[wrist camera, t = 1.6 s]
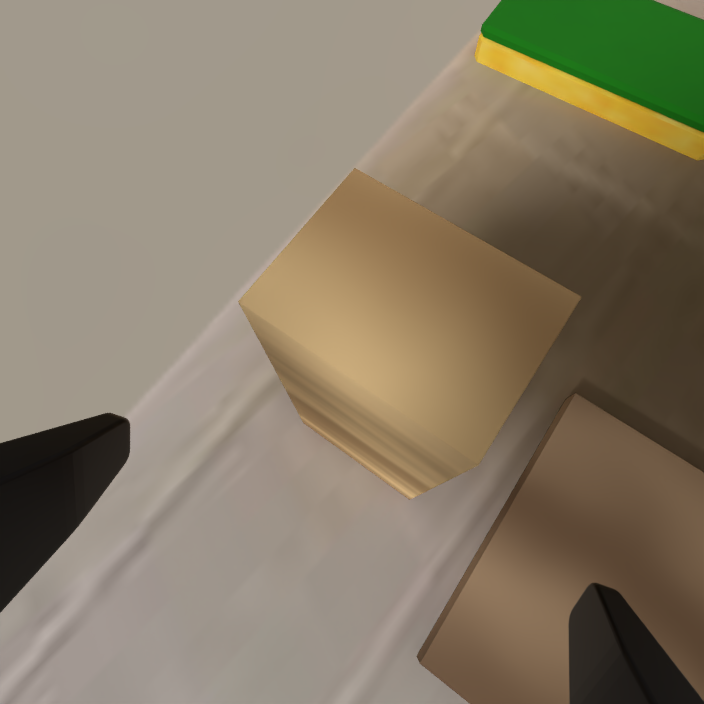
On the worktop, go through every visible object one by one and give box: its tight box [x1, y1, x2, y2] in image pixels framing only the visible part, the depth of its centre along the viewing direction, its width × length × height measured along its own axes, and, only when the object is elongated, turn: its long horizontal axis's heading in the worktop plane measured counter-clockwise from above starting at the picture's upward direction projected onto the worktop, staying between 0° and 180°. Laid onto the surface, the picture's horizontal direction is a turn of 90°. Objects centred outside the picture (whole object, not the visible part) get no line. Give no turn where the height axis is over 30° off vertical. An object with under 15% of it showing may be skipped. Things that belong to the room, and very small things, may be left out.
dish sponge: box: [475, 0, 704, 160], centre depth 27 cm, size 7×14×2 cm, turn 57°
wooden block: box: [238, 168, 581, 500], centre depth 15 cm, size 4×6×12 cm
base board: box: [417, 393, 704, 704], centre depth 18 cm, size 12×12×1 cm
